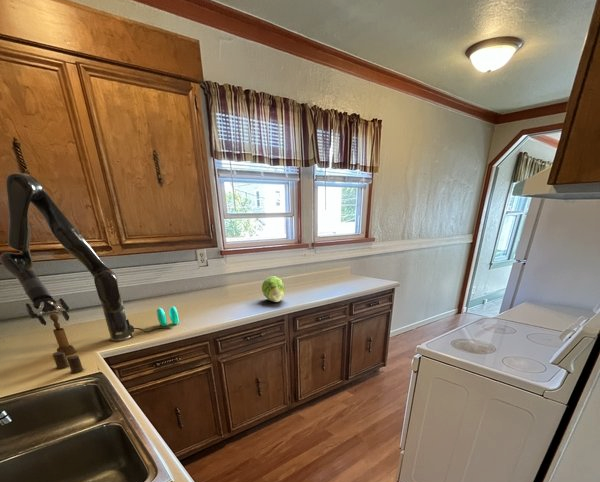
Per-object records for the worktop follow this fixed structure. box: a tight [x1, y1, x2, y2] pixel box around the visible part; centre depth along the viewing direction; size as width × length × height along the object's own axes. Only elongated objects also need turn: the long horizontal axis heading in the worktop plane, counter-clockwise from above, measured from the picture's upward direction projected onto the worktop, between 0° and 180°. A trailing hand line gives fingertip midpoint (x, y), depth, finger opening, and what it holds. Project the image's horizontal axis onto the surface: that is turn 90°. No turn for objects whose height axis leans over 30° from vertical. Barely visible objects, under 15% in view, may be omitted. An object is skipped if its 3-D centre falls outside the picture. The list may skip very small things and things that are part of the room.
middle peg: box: [52, 351, 70, 370], centre depth 133 cm, size 4×4×6 cm
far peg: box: [66, 354, 84, 374], centre depth 129 cm, size 4×4×6 cm
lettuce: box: [261, 275, 286, 303], centre depth 236 cm, size 17×23×16 cm
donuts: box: [156, 306, 180, 327], centre depth 185 cm, size 10×10×10 cm
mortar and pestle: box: [49, 313, 76, 356], centre depth 144 cm, size 7×6×18 cm
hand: (56, 321), depth 140 cm, fingers open, 8 cm apart
